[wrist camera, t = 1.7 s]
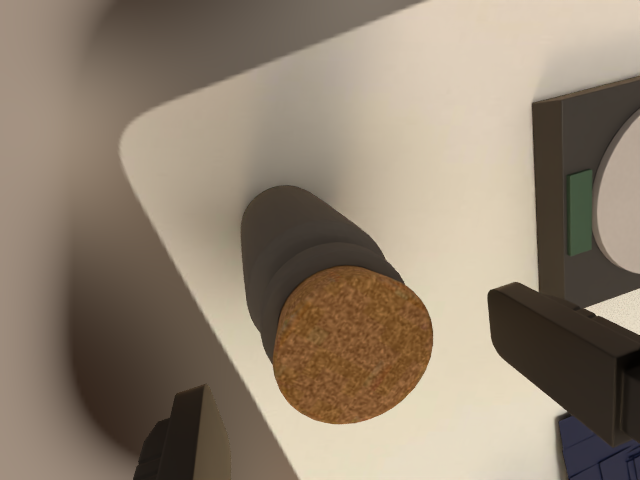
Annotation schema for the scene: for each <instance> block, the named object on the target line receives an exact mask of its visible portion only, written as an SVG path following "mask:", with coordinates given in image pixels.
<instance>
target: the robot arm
mask: <svg viewBox="0 0 640 480" xmlns="http://www.w3.org/2000/svg"><path fill="white" fill-rule="evenodd" d="M487 299H488V310H489V321H490V332H491V339H492V343H493V345H494V347H495V349H496V351H497V352H498V354H499V355H500V356H501V357H502V358H503V359H504V360H505V361H506V362H507V363H509V364H510V365H511V366H512V367H514V368H515V369H516V370H517V371H519V372H520V373H521V374H522V375H523V376H525V377H526V378H527V379H528V380H530V381H531V382H532V383H533V384H535V385H536V386H537V387H538V388H539V389H541V390H542V391H543V392H544V393H546V394H547V395H548V396H549V397H551V398H552V399H553V400H554V401H555V402H557V403H558V404H559V405H560V406H562V407H563V408H564V409H565V410H567V411H568V412H569V413H570V414H571V415H573V416H574V417H575V418H576V419H578V420H579V421H580V422H581V423H583V424H584V425H585V426H586V427H587V428H589V429H590V430H591V431H592V432H594V433H595V434H596V435H597V436H599V437H600V438H601V439H602V440H603V441H605V442H606V443H607V444H608V445H610V446H611V447H612V448H614V447H617V446H619V445H621V444H624V443H626V442H628V441H631V440H633V439H634V440H635V441H637V442H638V443H639V444H640V335H638V334H636V333H634V332H632V331H630V330H628V329H625V328H623V327H621V326H619V325H617V324H615V323H613V322H611V321H609V320H607V319H605V318H603V317H601V316H596V315H595V314H594V313H592V312H590V311H588V310H586V309H584V308H583V309H581V308H580V306H578V305H576V304H574V303H571V302H569V301H567V300H565V299H563V298H560V297H556V296H552V295H548V294H544V293H539V292H537V291H535V290H533V289H531V288H529V287H527V286H525V285H523V284H521V283H518V282H513V283H510V284H507V285H504V286H501V287H498V288H495V289H492V290H490V291H489V293H488V297H487ZM138 462H139V465H138V466H137V467H136V471H135V474H134V478H133V480H231V450H230V443H229V438H228V435H227V431H226V428H225V426H224V423H223V420H222V418H221V415H220V412H219V410H218V407H217V405H216V402H215V399H214V397H213V394H212V392H211V389H210V387H209V386H208V385H207V384H204V385H201V386H198V387H195V388H192V389H189V390H186V391H182V392H179V393H177V394H176V395H175V399H174V403H173V407H172V411H171V416H170V418H168V419H165V420H162V421H159V422H158V423H157V424H156V425H155V427H154V428H153V430H152V431H151V433H150V434H149V436H148V437H147V438H146V440H145V441H144V444H143V447H142V451H141V454H140V457H139V461H138Z"/></svg>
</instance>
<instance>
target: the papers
mask: <svg viewBox="0 0 640 480" xmlns="http://www.w3.org/2000/svg"><path fill="white" fill-rule="evenodd" d="M559 427H560V433H561V439H562V445H563V455H564V460H565V464H566V469H567V473H568V477H569V480H640V444H639V443H638V442H637V441H635V440H634V439H633V440H631V441H628V442H626V443H624V444H621V445H619V446H617V447H614V448H612V447H611V446H610V445H608V444H607V443H606V442H605V441H603V440H602V439H601V438H600V437H599V436H597V435H596V434H595V433H594V432H592V431H591V430H590V429H589V428H587V427H586V426H585V425H584V424H583V423H581V422H580V421H579V420H578V419H576V418H575V417H574V416H570V417H568V418H566V419H563V420H561V421H559Z"/></svg>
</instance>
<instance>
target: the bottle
mask: <svg viewBox="0 0 640 480" xmlns="http://www.w3.org/2000/svg"><path fill="white" fill-rule="evenodd" d="M241 247H242V260H243V272H244V282H245V291H246V300H247V306H248V310H249V313H250V316H251V319H252V321H253V323H254V325H255V326H256V328H257V329H258V330H259V332H260V333H261V338H262V343H263V347H264V349H265V352H266V354H267V356H268V358H269V359H270V361H271V363H272V364H273V370H274V376H275V379H276V381H277V384H278V386H279V389H280V391H281V393H282V394H283V396H284V397H285V399H286V400H287V401H288V402H289V403H290V405H291V406H292V407H294V408H295V409H296V410H297V411H299V412H300V413H302V414H304V415H306V416H308V417H310V418H311V419H313V420H317V421H321V422H324V423H330V424H350V423H357V422H361V421H365V420H368V419H371V418H374V417H376V416H378V415H381V414H383V413H385V412H386V411H388V410H390V409H392V408H393V407H394V406H396V405H397V404H398V403H400V402H401V401H402V400H403V399H404V398H405V397H406V396H407V395H408V394H409V393H410V392H411V391H412V390H413V389H414V388H415V386H416V385H417V383H418V382H419V381H420V379H421V377H422V376H423V374H424V372H425V370H426V368H427V365H428V363H429V360H430V357H431V352H432V346H433V329H432V323H431V319H430V316H429V314H428V311H427V309H426V307H425V305H424V304H423V302H422V301H421V299H420V298H419V297H418V296H417V295H416V294H415V293H414V291H412V290H411V289H410V288H409V287H407V286H406V285H405V283H404V281H403V279H402V278H401V276H400V275H399V273H398V272H397V271H396V270H395V269H394V268H393V267H392V266H391V265H390V264H389V263H388V262H387V261H386V260H385V257H384V255H383V253H382V251H381V250H380V248H379V247H378V245H377V244H376V243H375V242H374V240H373V239H372V238H371V237H370V236H369V235H368V234H367V233H365V232H364V231H363V230H362V229H360V228H359V227H358V226H357V225H355V224H354V223H353V222H351V221H350V220H348V219H347V218H346V217H344V216H343V215H342V214H340V213H339V212H337V211H336V210H335V209H333V208H332V207H331V206H329V205H328V204H326V203H325V202H323V201H322V200H320V199H319V198H318V197H316V196H315V195H313V194H312V193H310V192H308V191H306V190H304V189H301V188H299V187H295V186H277V187H273V188H270V189H268V190H266V191H264V192H262V193H261V194H259V195H258V196H256V197H255V198H254V199H253V200H252V201H251V203H250V204H249V206H248V207H247V209H246V211H245V212H244V215H243V218H242V223H241Z"/></svg>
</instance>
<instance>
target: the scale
mask: <svg viewBox="0 0 640 480" xmlns="http://www.w3.org/2000/svg"><path fill="white" fill-rule="evenodd" d="M532 106H533V132H534V157H535V183H536V209H537V235H538V261H539V286H540V293H544V294H548V295H552V296H556V297H560V298H563V299H565V300H567V301H569V302H571V303H574V304H576V305H578V306H580V308H581V309H583V308H586V307H589V306H591V305H594V304H597V303H600V302H603V301H605V300H608V299H611V298H614V297H617V296H619V295H622V294H625V293H628V292H631V291H633V290H636V289H639V288H640V76H638V77H634V78H630V79H626V80H622V81H618V82H614V83H610V84H606V85H602V86H598V87H594V88H590V89H586V90H582V91H578V92H574V93H570V94H566V95H562V96H558V97H555V98H551V99H547V100H543V101H539V102H535V103H533V104H532Z"/></svg>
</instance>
